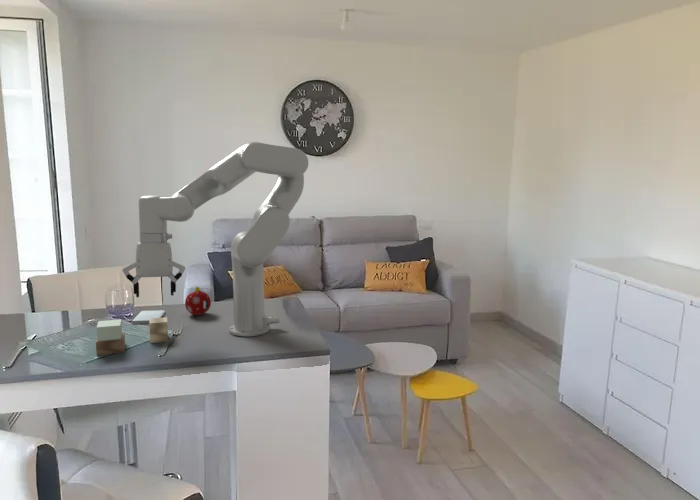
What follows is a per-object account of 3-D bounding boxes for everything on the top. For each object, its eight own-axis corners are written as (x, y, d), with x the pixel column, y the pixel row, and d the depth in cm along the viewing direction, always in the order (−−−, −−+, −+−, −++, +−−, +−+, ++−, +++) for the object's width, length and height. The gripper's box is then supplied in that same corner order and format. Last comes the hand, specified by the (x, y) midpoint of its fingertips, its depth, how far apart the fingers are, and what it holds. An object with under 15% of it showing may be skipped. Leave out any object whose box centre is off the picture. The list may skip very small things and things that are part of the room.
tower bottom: (125, 345, 159) (124, 331, 158) (124, 353, 153) (123, 339, 152) (99, 347, 157) (98, 334, 156) (96, 355, 150) (95, 342, 150)
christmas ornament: (202, 310, 195) (201, 282, 194) (215, 314, 189) (215, 286, 188) (180, 314, 189) (179, 286, 187) (193, 320, 183) (192, 291, 182)
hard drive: (157, 320, 179) (165, 309, 191) (131, 320, 178) (140, 310, 190) (157, 325, 179) (165, 314, 191) (131, 325, 178) (141, 314, 190)
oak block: (167, 336, 167) (167, 317, 166) (168, 341, 162) (167, 321, 161) (150, 337, 165) (149, 318, 164) (150, 343, 160) (149, 323, 159)
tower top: (122, 332, 158) (121, 319, 157) (121, 339, 152) (120, 325, 151) (99, 334, 156) (98, 321, 155) (97, 341, 150) (96, 327, 149)
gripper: (184, 236, 165) (184, 291, 167) (122, 236, 159) (124, 294, 162) (185, 239, 158) (186, 297, 161) (120, 240, 152) (122, 300, 155)
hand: (155, 295), depth 161 cm, fingers open, 9 cm apart
